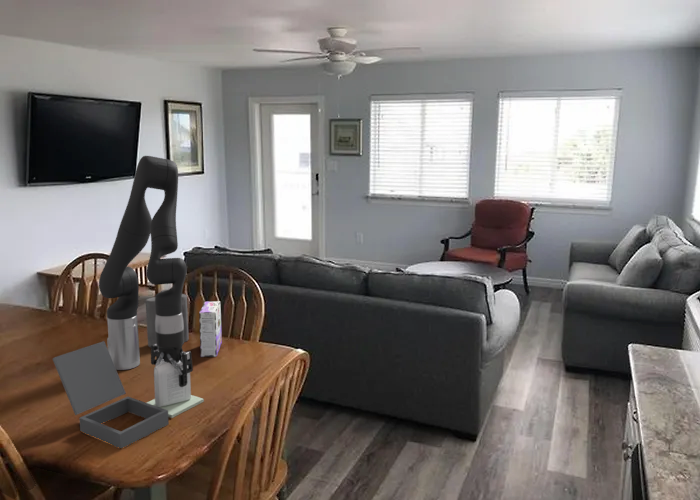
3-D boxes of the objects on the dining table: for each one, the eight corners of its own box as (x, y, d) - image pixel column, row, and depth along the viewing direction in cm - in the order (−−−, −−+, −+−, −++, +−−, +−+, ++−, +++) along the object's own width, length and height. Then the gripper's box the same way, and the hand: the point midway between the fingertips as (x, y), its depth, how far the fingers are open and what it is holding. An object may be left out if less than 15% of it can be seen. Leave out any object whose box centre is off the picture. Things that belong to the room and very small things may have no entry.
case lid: (77, 414, 150) (74, 415, 151) (125, 393, 163) (122, 394, 164) (54, 357, 152) (51, 359, 153) (104, 340, 164) (101, 342, 165)
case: (80, 432, 151) (79, 417, 150) (128, 409, 163) (127, 396, 163) (121, 449, 143) (120, 434, 142) (168, 424, 155) (167, 410, 155)
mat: (142, 407, 165) (142, 404, 165) (174, 392, 175) (174, 389, 175) (172, 417, 159) (171, 415, 159) (203, 401, 169) (203, 398, 169)
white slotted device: (187, 394, 172) (186, 354, 169) (193, 399, 168) (191, 359, 166) (153, 403, 166) (150, 362, 163) (158, 409, 162) (156, 367, 160)
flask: (185, 336, 224) (183, 286, 220) (190, 341, 219) (188, 289, 215) (145, 344, 215) (142, 291, 212) (150, 348, 211) (147, 295, 207)
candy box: (206, 343, 217) (204, 300, 214) (222, 343, 217) (221, 300, 214) (200, 357, 203) (198, 311, 200) (217, 356, 204) (215, 311, 201)
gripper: (198, 329, 162) (200, 383, 165) (162, 320, 169) (165, 373, 173) (177, 336, 156) (180, 393, 159) (141, 327, 163) (144, 381, 166)
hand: (172, 382), depth 166 cm, fingers open, 8 cm apart
